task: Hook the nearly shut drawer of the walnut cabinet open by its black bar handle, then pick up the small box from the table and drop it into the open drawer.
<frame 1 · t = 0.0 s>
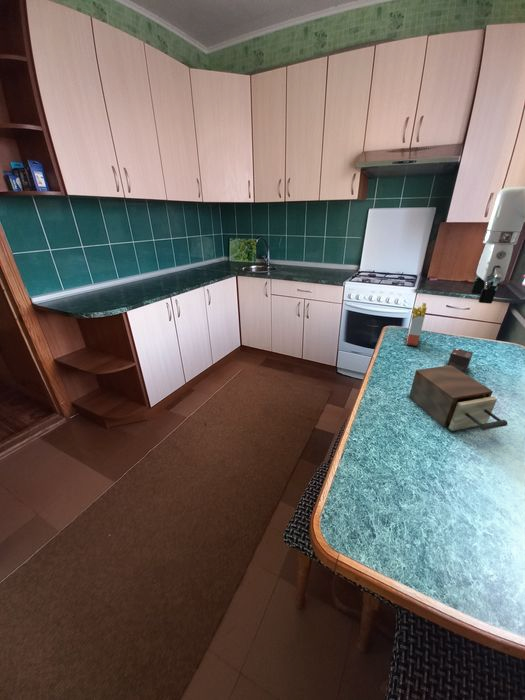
hand: (480, 298, 88), 30 cm above the table, tool pointing down, fingers open, 9 cm apart
cabinet: (442, 409, 89), on the table
french fries container: (411, 343, 129), on the table
box: (456, 370, 108), on the table
drawer: (462, 406, 81), point 5 cm above the table, slide at 1.0 cm
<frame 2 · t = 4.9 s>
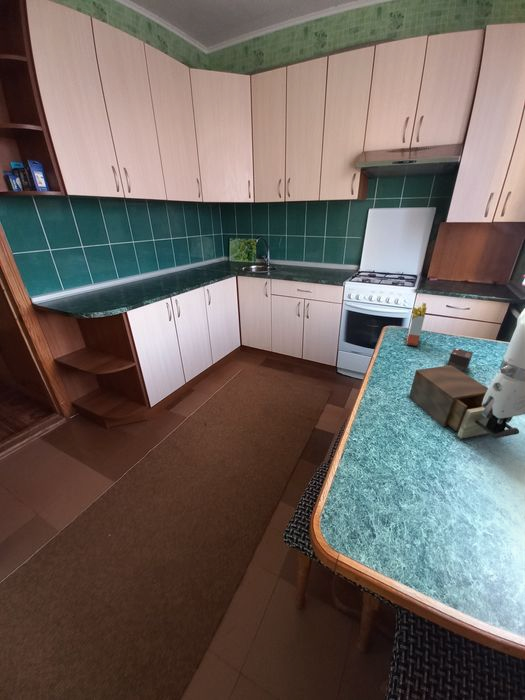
hand: (492, 432, 73), 5 cm above the table, tool pointing down, fingers closed
drawer: (471, 413, 79), point 5 cm above the table, slide at 4.0 cm
everything else where it was.
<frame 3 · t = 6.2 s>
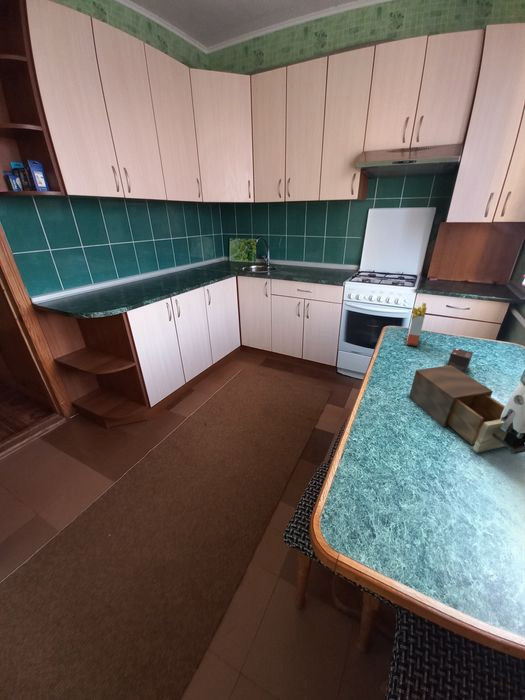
hand: (511, 446, 69), 5 cm above the table, tool pointing down, fingers closed
drawer: (487, 425, 74), point 5 cm above the table, slide at 8.8 cm
everything else where it was.
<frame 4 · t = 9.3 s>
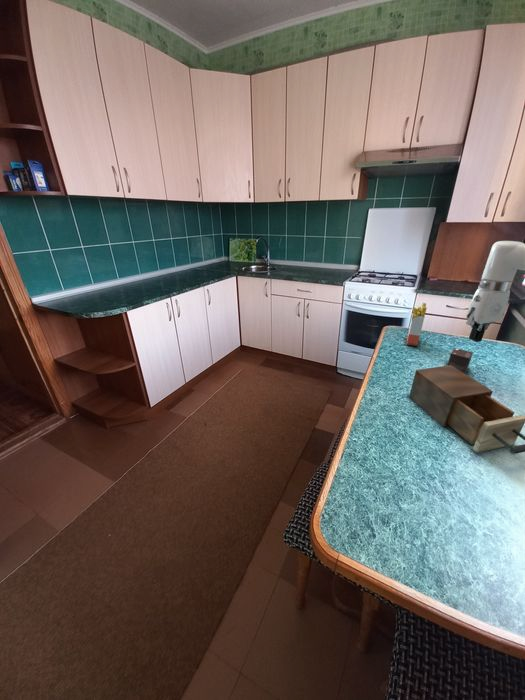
hand: (474, 340, 95), 16 cm above the table, tool pointing down, fingers closed
nothing on the table moved.
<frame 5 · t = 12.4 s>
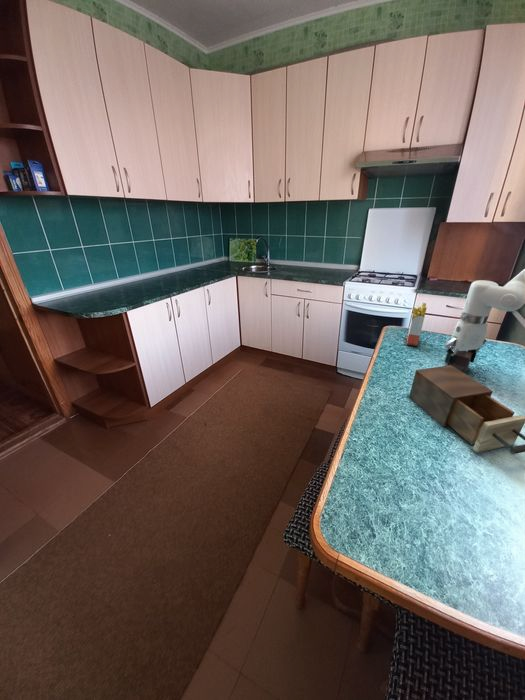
hand: (458, 361, 107), 4 cm above the table, tool pointing down, fingers closed on box, 8 cm apart
box: (456, 370, 108), on the table, touching gripper
everything else where it was.
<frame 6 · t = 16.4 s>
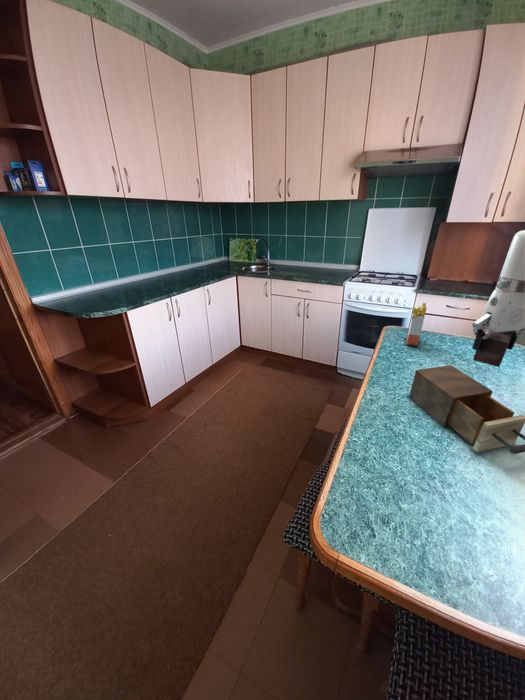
hand: (491, 348, 78), 21 cm above the table, tool pointing down, fingers closed on box, 8 cm apart
box: (487, 360, 80), point 17 cm above the table, touching gripper
everything else where it was.
when the fingers open (10 cm above the table, at t = 20.4 s): box drops 4 cm, resting on drawer.
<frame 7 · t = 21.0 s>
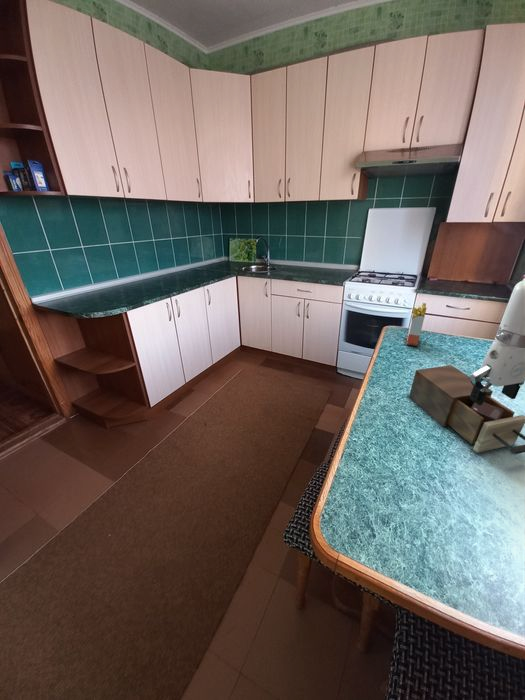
hand: (491, 398, 73), 12 cm above the table, tool pointing down, fingers open, 9 cm apart
box: (477, 431, 77), point 2 cm above the table, touching drawer
drawer: (488, 425, 74), point 5 cm above the table, slide at 8.9 cm, touching box
everything else where it was.
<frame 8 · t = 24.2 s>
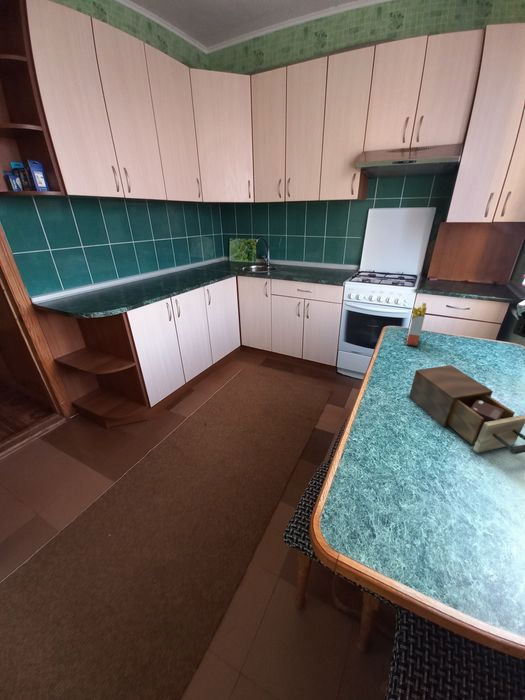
nothing on the table moved.
at the end: drawer slide at 8.9 cm; box inside the target area in the drawer (0.8 cm from its centre), point 1.8 cm above the cabinet's base; box tilted 0° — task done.
